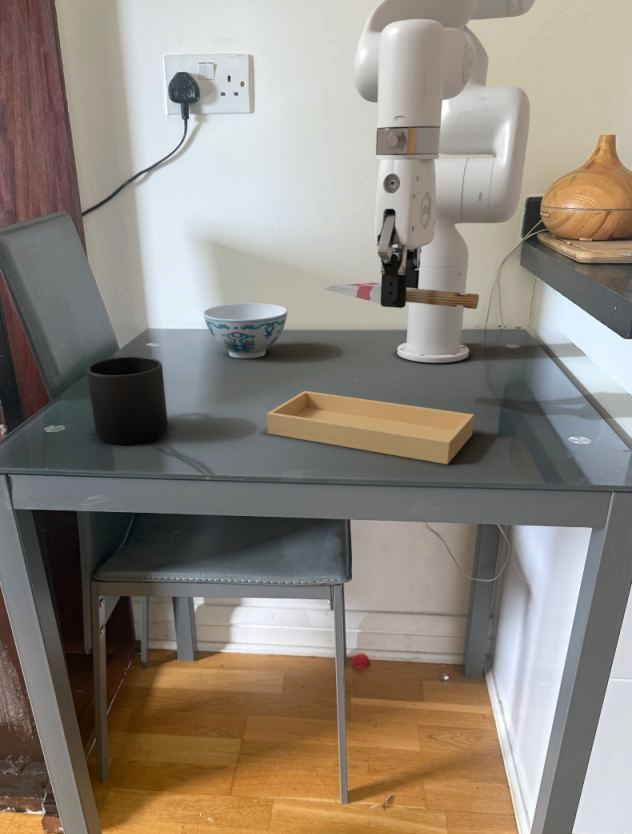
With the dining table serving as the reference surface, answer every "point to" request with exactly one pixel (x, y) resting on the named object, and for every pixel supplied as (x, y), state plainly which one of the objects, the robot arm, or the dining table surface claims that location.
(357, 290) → the folding fan
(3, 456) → the dining table surface
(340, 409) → the brush tray
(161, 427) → the mug
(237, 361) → the dining table surface
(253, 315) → the chinaware
